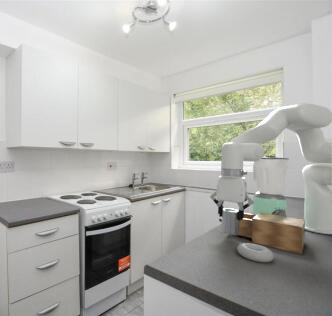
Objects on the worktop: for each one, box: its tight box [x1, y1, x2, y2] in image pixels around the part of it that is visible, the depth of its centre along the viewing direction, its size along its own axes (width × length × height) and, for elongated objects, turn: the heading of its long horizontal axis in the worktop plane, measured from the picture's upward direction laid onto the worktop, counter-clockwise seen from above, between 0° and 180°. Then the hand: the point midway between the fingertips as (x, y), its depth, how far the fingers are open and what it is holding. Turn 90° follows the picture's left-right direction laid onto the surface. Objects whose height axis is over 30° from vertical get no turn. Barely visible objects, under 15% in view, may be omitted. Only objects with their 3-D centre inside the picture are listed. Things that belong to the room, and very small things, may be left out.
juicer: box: [251, 155, 290, 217], centre depth 108 cm, size 19×13×35 cm
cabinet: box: [251, 213, 306, 255], centre depth 88 cm, size 15×15×10 cm
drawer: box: [218, 212, 256, 239], centre depth 96 cm, size 18×13×8 cm
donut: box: [237, 242, 275, 263], centre depth 75 cm, size 10×4×10 cm
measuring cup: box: [220, 207, 239, 236], centre depth 89 cm, size 6×6×9 cm
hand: (230, 217), depth 89 cm, fingers closed on measuring cup, 6 cm apart
